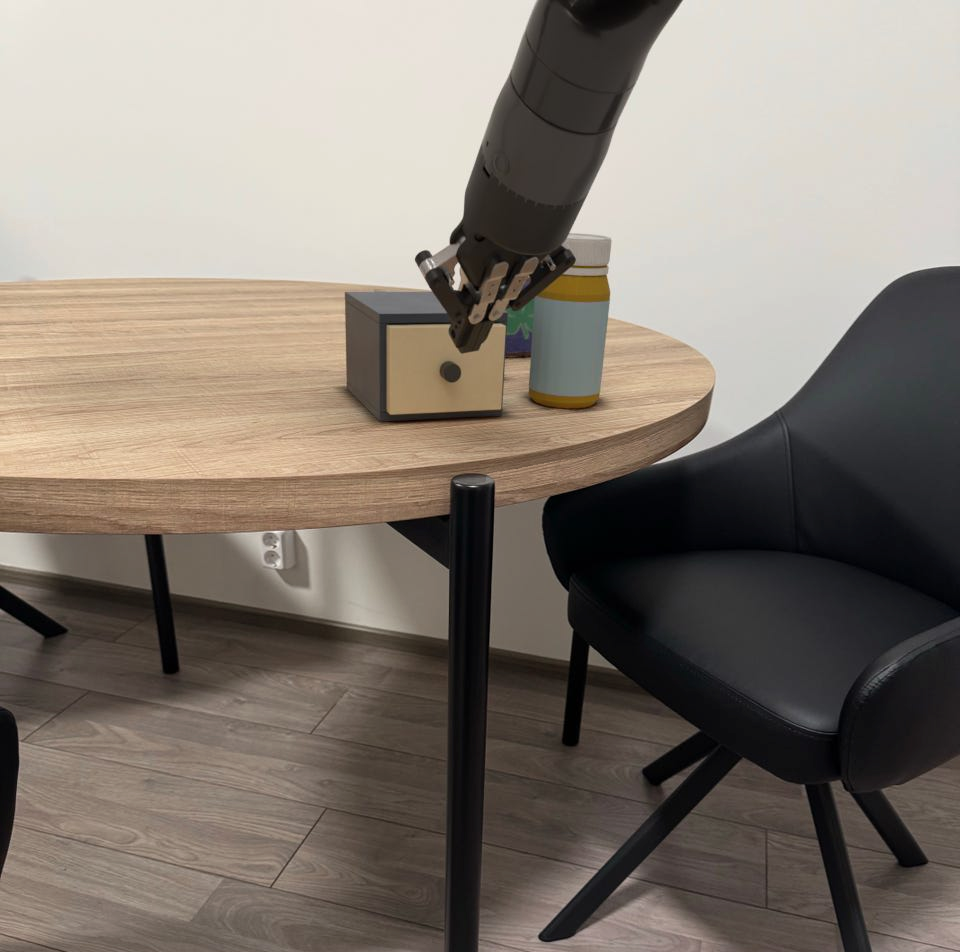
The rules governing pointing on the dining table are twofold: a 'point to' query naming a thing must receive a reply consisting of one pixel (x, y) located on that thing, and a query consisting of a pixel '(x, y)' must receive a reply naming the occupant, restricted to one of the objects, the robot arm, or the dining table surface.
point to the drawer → (442, 370)
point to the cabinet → (369, 346)
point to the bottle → (572, 328)
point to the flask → (520, 329)
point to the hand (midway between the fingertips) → (463, 343)
